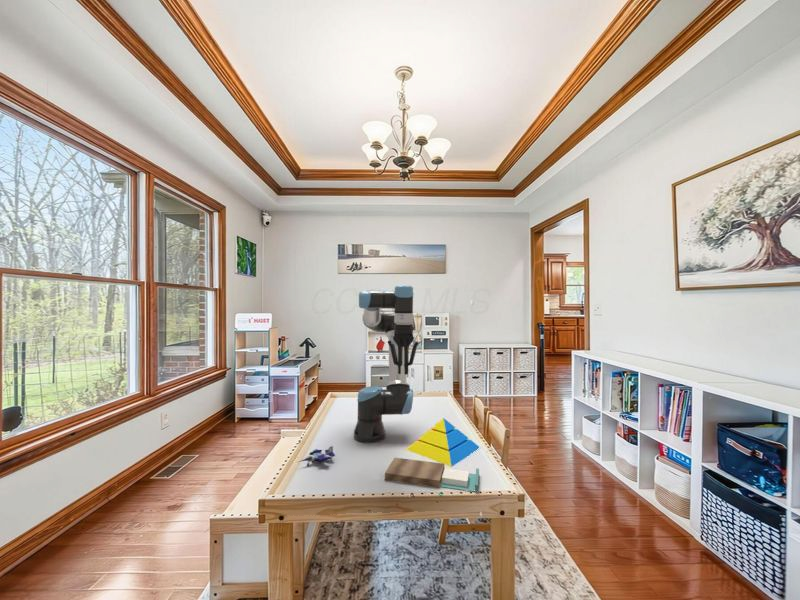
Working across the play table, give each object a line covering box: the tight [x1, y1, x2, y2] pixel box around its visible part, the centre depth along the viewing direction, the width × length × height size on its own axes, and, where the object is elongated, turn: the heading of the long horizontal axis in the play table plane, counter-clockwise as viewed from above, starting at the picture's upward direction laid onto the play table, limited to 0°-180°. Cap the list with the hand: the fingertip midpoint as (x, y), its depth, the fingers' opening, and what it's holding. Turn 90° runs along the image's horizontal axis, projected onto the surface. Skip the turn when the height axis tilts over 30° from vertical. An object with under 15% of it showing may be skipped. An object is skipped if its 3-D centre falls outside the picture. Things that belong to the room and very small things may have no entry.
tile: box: [442, 468, 470, 487], centre depth 125 cm, size 9×7×2 cm
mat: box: [440, 468, 480, 492], centre depth 125 cm, size 13×12×2 cm
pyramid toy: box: [405, 417, 480, 468], centre depth 152 cm, size 25×25×14 cm
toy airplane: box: [298, 445, 336, 467], centre depth 138 cm, size 13×14×4 cm
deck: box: [384, 457, 445, 489], centre depth 129 cm, size 20×13×2 cm, turn 75°
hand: (403, 382), depth 139 cm, fingers closed
